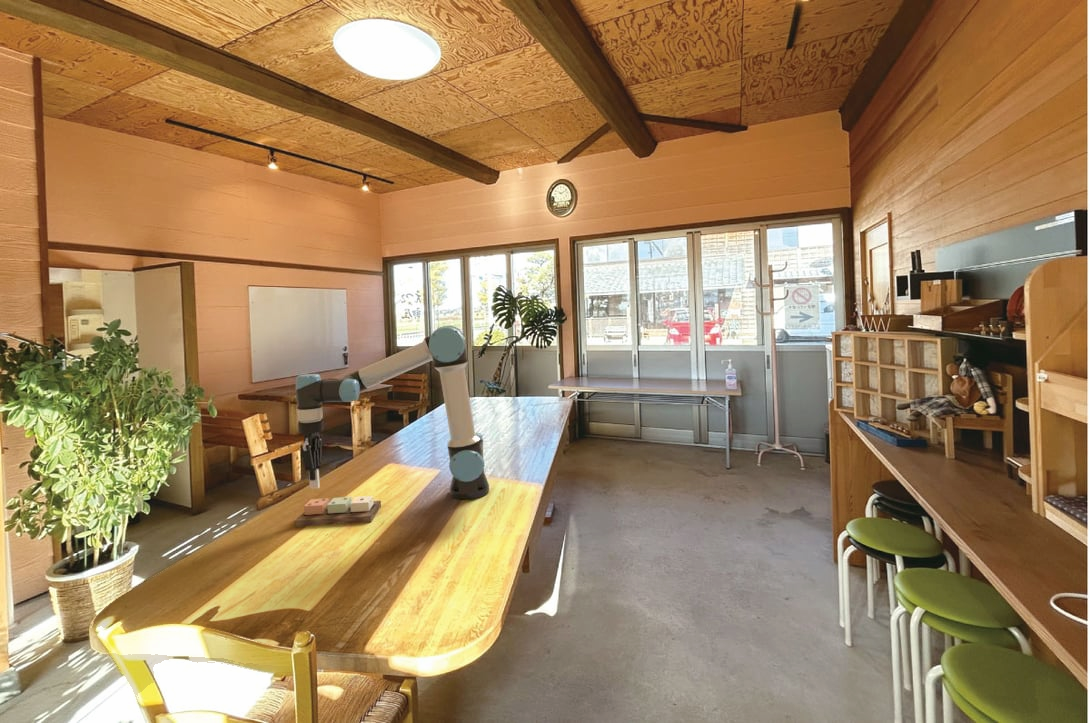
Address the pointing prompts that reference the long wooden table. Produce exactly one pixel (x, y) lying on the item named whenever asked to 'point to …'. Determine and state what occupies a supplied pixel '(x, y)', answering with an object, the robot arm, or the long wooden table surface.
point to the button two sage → (339, 505)
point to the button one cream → (361, 503)
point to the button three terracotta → (316, 506)
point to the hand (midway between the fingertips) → (314, 488)
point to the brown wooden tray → (339, 517)
